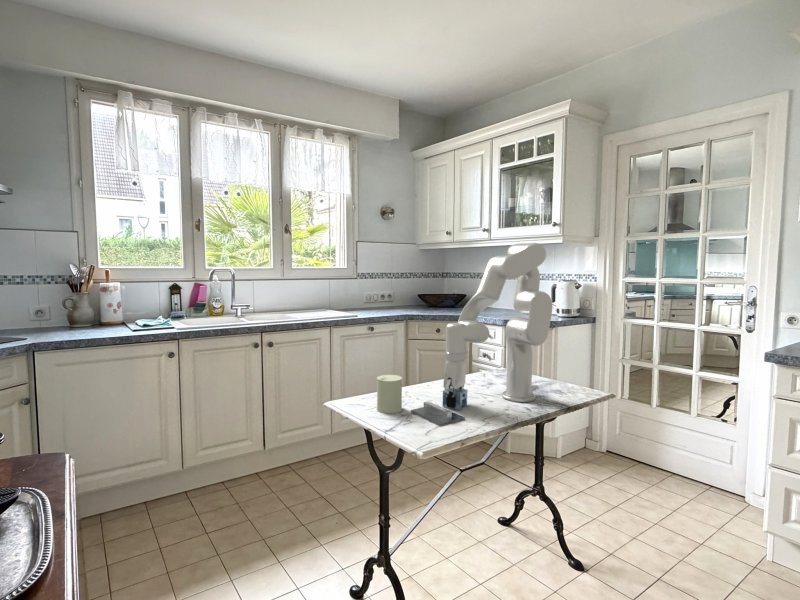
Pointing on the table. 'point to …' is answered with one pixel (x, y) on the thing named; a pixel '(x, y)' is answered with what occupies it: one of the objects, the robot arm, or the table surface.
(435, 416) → the rail
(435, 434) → the table surface
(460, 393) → the blue-grey slotted block
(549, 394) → the table surface
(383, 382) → the can
